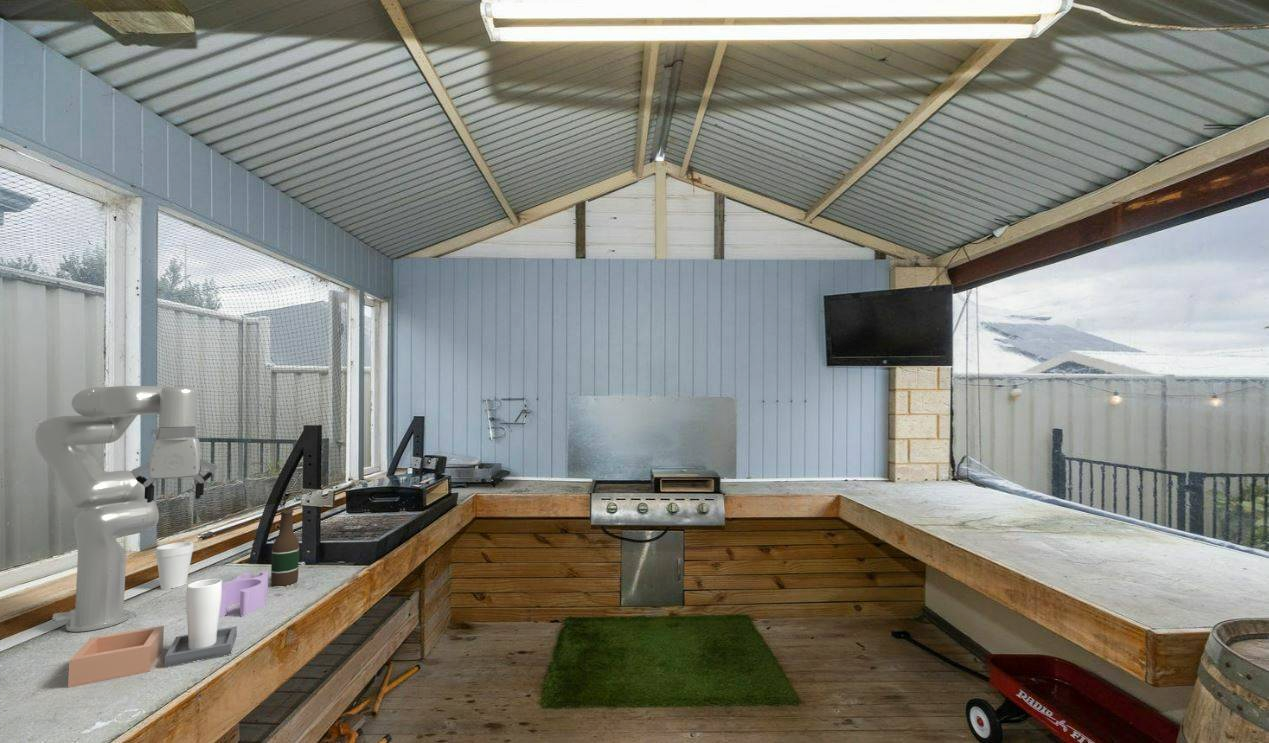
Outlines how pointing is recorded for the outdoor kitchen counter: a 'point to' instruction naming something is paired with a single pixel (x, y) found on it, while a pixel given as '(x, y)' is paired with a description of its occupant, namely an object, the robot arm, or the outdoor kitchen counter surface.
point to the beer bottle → (285, 553)
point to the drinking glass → (203, 612)
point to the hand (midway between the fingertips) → (174, 499)
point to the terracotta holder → (116, 656)
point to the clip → (245, 593)
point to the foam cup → (174, 563)
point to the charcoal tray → (184, 655)
